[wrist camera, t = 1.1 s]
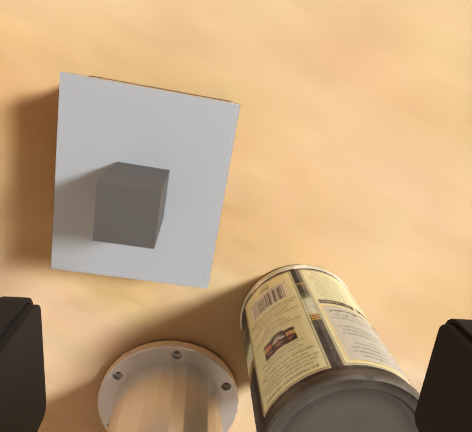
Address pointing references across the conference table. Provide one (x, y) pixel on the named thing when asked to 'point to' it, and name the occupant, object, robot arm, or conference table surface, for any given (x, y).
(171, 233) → the lid
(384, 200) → the conference table surface
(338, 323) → the coffee can
